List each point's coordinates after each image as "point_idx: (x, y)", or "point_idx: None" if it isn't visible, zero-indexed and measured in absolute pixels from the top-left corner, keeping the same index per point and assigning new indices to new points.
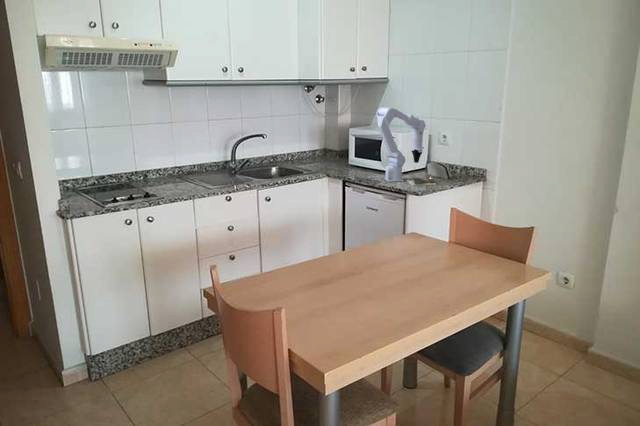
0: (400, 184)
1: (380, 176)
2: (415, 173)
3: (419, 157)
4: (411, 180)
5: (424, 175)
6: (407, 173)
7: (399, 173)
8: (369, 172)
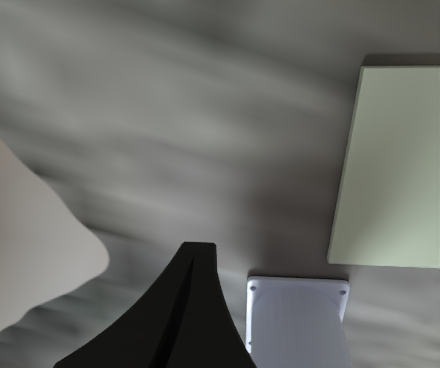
0: (426, 316)
1: None
2: (17, 100)
3: (224, 301)
4: (362, 237)
5: (105, 35)
6: (33, 171)
7: (349, 356)
8: (51, 363)
